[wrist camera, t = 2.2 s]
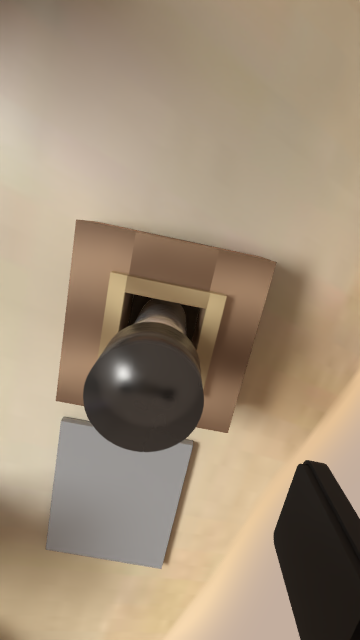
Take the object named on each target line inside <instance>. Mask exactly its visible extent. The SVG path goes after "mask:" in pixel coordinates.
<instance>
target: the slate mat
mask: <svg viewBox="0 0 360 640" xmlns="http://www.w3.org/2000/svg"><path fill="white" fill-rule="evenodd" d="M192 447H193V441H191V440H185V439H184V440H183V441H181V442H180V443H178V444H177V445H175V446H172V447H170V448H167V449H165V450H161V451H156V452H137V451H131V450H127V449H124V448H121V447H119V446H117V445H115V444H113V443H111V442H109V441H108V440H106V439H105V438H104V437H103V436H102V435H100V434H99V433H98V431H97V430H96V429H95V428H94V427H93V425H92V424H91V422H89V421H83V420H78V419H73V418H67V417H63V419H62V420H61V426H60V434H59V443H58V451H57V459H56V468H55V476H54V484H53V493H52V501H51V509H50V518H49V526H48V534H47V543H46V550H52V551H58V552H64V553H70V554H76V555H81V556H87V557H93V558H99V559H105V560H111V561H117V562H123V563H129V564H135V565H141V566H147V567H153V568H159V569H162V565H163V561H164V557H165V553H166V549H167V545H168V541H169V537H170V533H171V529H172V525H173V522H174V518H175V514H176V510H177V506H178V502H179V498H180V494H181V490H182V486H183V482H184V479H185V475H186V471H187V467H188V463H189V459H190V455H191V451H192Z"/></svg>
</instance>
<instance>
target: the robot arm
mask: <svg viewBox="0 0 360 640" xmlns="http://www.w3.org/2000/svg"><path fill="white" fill-rule="evenodd" d="M274 545H275V549H276V553H277V556H278V560H279V563H280V567H281V571H282V574H283V578H284V582H285V585H286V589H287V592H288V596H289V600H290V603H291V607H292V610H293V614H294V617H295V621H296V625H297V628H298V632H299V636H300V639H301V640H360V519H359V517H358V516H357V514H356V512H355V510H354V509H353V507H352V505H351V504H350V502H349V500H348V499H347V497H346V495H345V494H344V492H343V491H342V489H341V487H340V486H339V484H338V482H337V481H336V479H335V478H334V476H333V474H332V472H331V471H330V469H329V467H328V466H327V465H326V464H324V463H319V462H314V461H309V460H306V461H305V462H304V463H303V464H299V465H298V466H297V469H296V472H295V474H294V477H293V480H292V483H291V485H290V488H289V491H288V494H287V497H286V500H285V502H284V505H283V508H282V511H281V514H280V516H279V520H278V522H277V525H276V528H275V531H274Z"/></svg>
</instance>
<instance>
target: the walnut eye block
mask: <svg viewBox="0 0 360 640" xmlns="http://www.w3.org/2000/svg"><path fill="white" fill-rule="evenodd" d="M276 263H277V262H274V261H271V260H268V259H265V258H263V257H259V256H254V255H250V254H245V253H240V252H236V251H231V250H226V249H222V248H217V247H212V246H208V245H203V244H198V243H193V242H189V241H184V240H179V239H175V238H170V237H165V236H161V235H156V234H151V233H147V232H142V231H137V230H133V229H128V228H123V227H119V226H114V225H109V224H105V223H100V222H95V221H85V220H76V227H75V236H74V245H73V253H72V262H71V271H70V280H69V289H68V298H67V307H66V316H65V324H64V333H63V342H62V351H61V360H60V369H59V378H58V387H57V395H56V401H60V402H65V403H70V404H76V405H81V406H84V403H83V389H84V384H85V381H86V378H87V376H88V374H89V372H90V370H91V369H92V367H93V366H94V364H95V363H96V361H97V360H98V358H99V357H100V355H101V354H102V352H103V351H104V349H105V348H106V346H107V345H108V343H109V342H110V340H111V339H112V338H113V337H114V336H115V335H116V334H117V333H118V332H120V331H121V330H122V329H124V328H126V327H128V324H129V318H130V312H131V306H132V301H133V295H134V294H136V295H141V296H146V297H151V298H155V299H160V300H165V301H170V302H175V303H180V304H185V305H190V306H194V307H199V311H198V316H197V320H196V324H195V329H194V333H193V337H192V344H193V345H194V347H195V349H196V351H197V353H198V356H199V360H200V368H201V376H202V385H203V393H204V407H203V412H202V415H201V418H200V420H199V422H198V424H197V426H196V427H198V428H203V429H208V430H214V431H219V432H224V433H228V430H229V427H230V423H231V420H232V416H233V413H234V409H235V406H236V402H237V399H238V395H239V392H240V388H241V385H242V381H243V378H244V374H245V371H246V367H247V364H248V360H249V357H250V353H251V350H252V346H253V343H254V339H255V336H256V332H257V329H258V325H259V322H260V319H261V315H262V312H263V308H264V305H265V301H266V298H267V294H268V291H269V287H270V284H271V280H272V277H273V273H274V270H275V266H276Z"/></svg>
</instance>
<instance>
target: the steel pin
mask: <svg viewBox="0 0 360 640" xmlns="http://www.w3.org/2000/svg"><path fill="white" fill-rule="evenodd" d="M83 403H84V408H85V411H86V414H87V417H88V419H89V420H90V422H91V424H92V425H93V427H94V428H95V429H96V430H97V431H98V433H99V434H100V435H102V436H103V437H104V438H105V439H106V440H108V441H109V442H111V443H113V444H115V445H117V446H119V447H121V448H124V449H127V450H131V451H137V452H156V451H161V450H165V449H167V448H170V447H172V446H175V445H177V444H178V443H180V442H181V441H183V440H184V439H185V438H187V437H188V436H189V435H190V434H191V433H192V431H193V430H194V429H195V427H196V426H197V424H198V422H199V420H200V418H201V415H202V412H203V407H204V393H203V385H202V376H201V368H200V360H199V356H198V353H197V351H196V349H195V347H194V345H193V344H192V342H191V341H190V340H189V339H188V338H187V337H186V315H185V311H184V309H183V307H182V306H181V305H180V304H179V303H175V302H170V301H165V300H160V299H155V298H153V299H151V300H150V301H148V302H147V303H146V304H145V305H144V307H143V308H142V310H141V312H140V314H139V316H138V318H137V319H136V321H135V323H134V324H133V325H130V326H128V327H126V328H124V329H122V330H121V331H120V332H118V333H117V334H116V335H115V336H114V337H113V338H112V339H111V340H110V342H109V343H108V345H107V346H106V348H105V349H104V351H103V352H102V354H101V355H100V357H99V358H98V360H97V361H96V363H95V364H94V366H93V367H92V369H91V370H90V372H89V374H88V376H87V378H86V381H85V384H84V389H83Z"/></svg>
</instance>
